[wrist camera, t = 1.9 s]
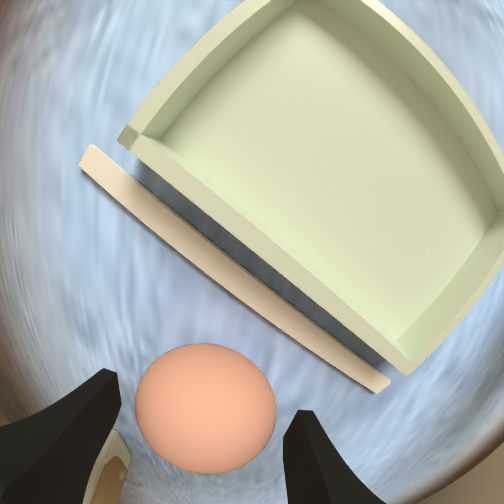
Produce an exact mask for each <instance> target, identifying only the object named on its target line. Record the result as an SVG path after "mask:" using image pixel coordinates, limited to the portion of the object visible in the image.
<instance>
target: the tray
mask: <svg viewBox="0 0 504 504" xmlns="http://www.w3.org/2000/svg"><path fill="white" fill-rule="evenodd" d="M116 141H118V142H119V143H120V144H121V145H123V146H124V147H125V148H126V149H128V150H129V151H130V152H131V153H133V154H134V155H135V156H136V157H137V158H139V159H140V160H141V161H142V162H144V163H145V164H146V165H147V166H149V167H150V168H151V169H152V170H154V171H155V172H156V173H157V174H158V175H160V176H161V177H162V178H163V179H165V180H166V181H167V182H168V183H170V184H171V185H172V186H173V187H175V188H176V189H177V190H178V191H179V192H181V193H182V194H183V195H184V196H186V197H187V198H188V199H189V200H191V201H192V202H193V203H194V204H195V205H197V206H198V207H199V208H200V209H202V210H203V211H204V212H205V213H207V214H208V215H209V216H210V217H212V218H213V219H214V220H215V221H216V222H218V223H219V224H220V225H221V226H223V227H224V228H225V229H226V230H228V231H229V232H230V233H231V234H232V235H234V236H235V237H236V238H237V239H239V240H240V241H241V242H242V243H244V244H245V245H246V246H247V247H248V248H250V249H251V250H252V251H253V252H255V253H256V254H257V255H258V256H260V257H261V258H262V259H263V260H264V261H266V262H267V263H268V264H269V265H271V266H272V267H273V268H274V269H276V270H277V271H278V272H279V273H280V274H282V275H283V276H284V277H285V278H287V279H288V280H289V281H290V282H292V283H293V284H294V285H295V286H296V287H298V288H299V289H300V290H301V291H303V292H304V293H305V294H306V295H308V296H309V297H310V298H311V299H312V300H314V301H315V302H316V303H317V304H319V305H320V306H321V307H322V308H323V309H325V310H326V311H327V312H328V313H330V314H331V315H332V316H333V317H335V318H336V319H337V320H338V321H339V322H341V323H342V324H343V325H344V326H346V327H347V328H348V329H349V330H350V331H352V332H353V333H354V334H355V335H357V336H358V337H359V338H360V339H362V340H363V341H364V342H365V343H366V344H368V345H369V346H370V347H371V348H373V349H374V350H375V351H376V352H377V353H379V354H380V355H381V356H382V357H384V358H385V359H386V360H387V361H388V362H390V363H391V364H392V365H393V366H395V367H396V368H397V369H398V370H400V371H401V372H402V373H403V374H404V375H406V376H408V375H409V374H410V373H411V372H412V371H413V370H414V369H416V368H417V367H418V366H419V365H420V364H421V363H422V362H423V361H424V360H425V359H426V358H427V357H428V356H429V355H430V354H431V353H432V352H433V351H434V350H435V349H436V348H437V347H438V346H439V345H440V344H441V343H442V342H443V341H444V340H445V339H446V338H447V337H448V335H449V334H450V333H451V332H452V331H453V330H454V329H455V328H456V327H457V325H458V324H459V323H460V322H461V321H462V320H463V318H464V317H465V316H466V315H467V314H468V312H469V311H470V310H471V309H472V307H473V306H474V305H475V304H476V302H477V301H478V300H479V298H480V297H481V296H482V294H483V293H484V292H485V290H486V289H487V287H488V286H489V285H490V283H491V282H492V280H493V279H494V277H495V276H496V275H497V273H498V272H499V270H500V268H501V267H502V265H503V264H504V155H503V153H502V151H501V149H500V147H499V145H498V143H497V141H496V139H495V137H494V136H493V134H492V132H491V130H490V129H489V127H488V125H487V124H486V122H485V120H484V119H483V117H482V115H481V114H480V112H479V111H478V109H477V108H476V106H475V105H474V103H473V102H472V100H471V99H470V97H469V96H468V95H467V93H466V92H465V90H464V89H463V88H462V86H461V85H460V84H459V82H458V81H457V80H456V78H455V77H454V76H453V75H452V73H451V72H450V71H449V70H448V69H447V67H446V66H445V65H444V64H443V63H442V61H441V60H440V59H439V58H438V57H437V56H436V55H435V54H434V52H433V51H432V50H431V49H430V48H429V47H428V46H427V45H426V44H425V43H424V42H423V41H422V40H421V39H420V38H419V37H418V36H417V35H416V34H415V33H414V32H413V31H412V30H411V29H410V28H409V27H408V26H407V25H406V24H405V23H403V22H402V21H401V20H400V19H399V18H398V17H397V16H396V15H394V14H393V13H392V12H391V11H390V10H388V9H387V8H386V7H385V6H384V5H382V4H381V3H380V2H378V1H377V0H245V1H244V2H243V3H241V4H240V5H239V6H237V7H236V8H235V9H234V10H232V11H231V12H230V13H229V14H228V15H226V16H225V17H224V18H223V19H222V20H221V21H219V22H218V23H217V24H216V25H215V26H214V27H213V28H212V29H210V30H209V31H208V32H207V33H206V34H205V35H204V36H203V37H202V38H201V39H200V40H199V41H198V42H197V43H196V44H195V45H194V46H193V47H192V48H191V49H190V50H189V51H188V52H187V53H186V54H185V55H184V56H183V57H182V58H181V59H180V60H179V61H178V62H177V63H176V64H175V65H174V66H173V68H172V69H171V70H170V71H169V72H168V73H167V74H166V75H165V77H164V78H163V79H162V80H161V81H160V82H159V84H158V85H157V86H156V87H155V88H154V90H153V91H152V92H151V93H150V95H149V96H148V97H147V98H146V100H145V101H144V102H143V103H142V105H141V106H140V107H139V109H138V110H137V111H136V113H135V114H134V115H133V117H132V118H131V120H130V121H129V122H128V124H127V125H126V127H125V128H124V130H123V131H122V132H121V134H120V135H119V137H118V138H117V140H116Z"/></svg>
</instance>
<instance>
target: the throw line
mask: <svg viewBox="0 0 504 504" xmlns="http://www.w3.org/2000/svg"><path fill="white" fill-rule="evenodd" d="M79 166H80V167H81V168H82V169H83V170H84V171H85V172H86V173H87V174H88V175H89V176H91V177H92V178H93V179H94V180H95V181H96V182H97V183H98V184H99V185H101V186H102V187H103V188H104V189H105V190H106V191H107V192H108V193H110V194H111V195H112V196H113V197H114V198H115V199H116V200H118V201H119V202H120V203H121V204H122V205H123V206H124V207H126V208H127V209H128V210H129V211H130V212H131V213H133V214H134V215H135V216H136V217H137V218H139V219H140V220H141V221H142V222H143V223H144V224H146V225H147V226H148V227H149V228H150V229H152V230H153V231H154V232H155V233H156V234H158V235H159V236H160V237H161V238H163V239H164V240H165V241H166V242H167V243H169V244H170V245H171V246H172V247H174V248H175V249H176V250H177V251H178V252H180V253H181V254H182V255H183V256H185V257H186V258H187V259H188V260H190V261H191V262H192V263H194V264H195V265H196V266H197V267H199V268H200V269H201V270H202V271H204V272H205V273H206V274H208V275H209V276H210V277H211V278H213V279H214V280H215V281H217V282H218V283H219V284H220V285H222V286H223V287H224V288H226V289H227V290H228V291H230V292H231V293H232V294H234V295H235V296H236V297H238V298H239V299H240V300H242V301H243V302H244V303H246V304H247V305H248V306H250V307H251V308H252V309H254V310H255V311H256V312H258V313H259V314H260V315H262V316H263V317H265V318H266V319H267V320H269V321H270V322H271V323H273V324H274V325H276V326H277V327H278V328H280V329H281V330H283V331H284V332H285V333H287V334H288V335H290V336H291V337H293V338H294V339H295V340H297V341H298V342H300V343H301V344H303V345H304V346H305V347H307V348H308V349H310V350H311V351H313V352H314V353H316V354H317V355H318V356H320V357H321V358H323V359H324V360H326V361H327V362H329V363H330V364H332V365H333V366H335V367H336V368H338V369H339V370H341V371H342V372H344V373H345V374H347V375H348V376H350V377H351V378H353V379H354V380H356V381H358V382H359V383H361V384H362V385H364V386H365V387H367V388H368V389H370V390H372V391H373V392H375V393H376V394H378V393H379V392H380V391H382V390H383V389H384V388H385V387H387V386H388V385H389V384H390V383H391V381H390V379H389V378H387V377H386V376H385V375H383V374H382V373H381V372H379V371H378V370H376V369H375V368H374V367H372V366H371V365H370V364H368V363H367V362H366V361H364V360H363V359H362V358H360V357H359V356H358V355H356V354H355V353H354V352H352V351H351V350H350V349H348V348H347V347H346V346H344V345H343V344H342V343H340V342H339V341H338V340H336V339H335V338H334V337H333V336H331V335H330V334H329V333H327V332H326V331H325V330H323V329H322V328H321V327H319V326H318V325H317V324H315V323H314V322H313V321H312V320H310V319H309V318H308V317H306V316H305V315H304V314H302V313H301V312H300V311H299V310H297V309H296V308H295V307H293V306H292V305H291V304H290V303H288V302H287V301H286V300H284V299H283V298H282V297H281V296H279V295H278V294H277V293H275V292H274V291H273V290H272V289H270V288H269V287H268V286H266V285H265V284H264V283H263V282H261V281H260V280H259V279H258V278H256V277H255V276H254V275H252V274H251V273H250V272H249V271H247V270H246V269H245V268H244V267H242V266H241V265H240V264H239V263H237V262H236V261H235V260H233V259H232V258H231V257H230V256H228V255H227V254H226V253H225V252H223V251H222V250H221V249H220V248H218V247H217V246H216V245H215V244H213V243H212V242H211V241H210V240H208V239H207V238H206V237H205V236H204V235H202V234H201V233H200V232H199V231H197V230H196V229H195V228H194V227H192V226H191V225H190V224H189V223H187V222H186V221H185V220H184V219H183V218H181V217H180V216H179V215H178V214H176V213H175V212H174V211H173V210H171V209H170V208H169V207H168V206H167V205H165V204H164V203H163V202H162V201H161V200H159V199H158V198H157V197H156V196H154V195H153V194H152V193H151V192H150V191H148V190H147V189H146V188H145V187H144V186H142V185H141V184H140V183H139V182H138V181H136V180H135V179H134V178H133V177H132V176H130V175H129V174H128V173H127V172H126V171H124V170H123V169H122V168H121V167H120V166H118V165H117V164H116V163H115V162H114V161H113V160H111V159H110V158H109V157H108V156H107V155H105V154H104V153H103V152H102V151H101V150H100V149H98V148H97V147H96V146H95V145H91V144H90V145H89V147H88V149H87V150H86V152H85V154H84V156H83V157H82V159H81V161H80V163H79Z"/></svg>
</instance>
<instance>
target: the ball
mask: <svg viewBox="0 0 504 504" xmlns="http://www.w3.org/2000/svg"><path fill="white" fill-rule="evenodd" d="M135 413H136V419H137V423H138V426H139V428H140V431H141V433H142V435H143V437H144V438H145V440H146V442H147V443H148V444H149V446H150V447H151V448H152V449H153V450H154V451H155V452H156V453H157V454H158V455H159V456H160V457H161V458H163V459H164V460H165V461H167V462H168V463H170V464H172V465H174V466H176V467H178V468H180V469H183V470H186V471H189V472H193V473H200V474H219V473H224V472H228V471H232V470H235V469H237V468H239V467H242V466H244V465H246V464H247V463H248V462H250V461H251V460H253V459H254V458H255V457H256V456H257V455H258V454H259V453H260V452H261V451H262V450H263V449H264V448H265V446H266V444H267V443H268V441H269V440H270V438H271V435H272V433H273V430H274V426H275V422H276V404H275V397H274V394H273V391H272V389H271V386H270V384H269V382H268V380H267V379H266V377H265V376H264V374H263V373H262V372H261V370H260V369H259V368H258V367H257V366H256V365H255V364H254V363H253V362H252V361H251V360H249V359H248V358H246V357H245V356H243V355H242V354H240V353H238V352H236V351H234V350H232V349H230V348H227V347H224V346H219V345H215V344H203V343H200V344H190V345H184V346H181V347H178V348H175V349H173V350H171V351H169V352H167V353H165V354H163V355H162V356H161V357H159V358H158V359H157V360H155V361H154V362H153V363H152V364H151V365H150V366H149V368H148V369H147V370H146V372H145V373H144V375H143V377H142V378H141V381H140V383H139V386H138V388H137V393H136V398H135Z"/></svg>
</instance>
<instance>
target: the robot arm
mask: <svg viewBox="0 0 504 504" xmlns="http://www.w3.org/2000/svg"><path fill="white" fill-rule="evenodd" d="M121 405H122V403H121V397H120V391H119V384H118V377H117V373H116V372H113V371H110V370H108V369H105V368H103V369H101V370H100V371H99V372H97V373H96V374H95V375H93V376H92V377H91V378H90V379H88V380H87V381H86V382H84V383H83V384H82V385H80V386H79V387H78V388H76V389H75V390H73V391H72V392H70V393H69V394H68V395H66V396H65V397H63V398H62V399H60V400H58V401H57V402H55V403H54V404H52V405H50V406H49V407H47V408H45V409H43V410H42V411H40V412H38V413H36V414H33V415H31V416H29V417H27V418H24V419H22V420H19V421H17V422H14V423H11V424H8V425H4V426H1V427H0V504H83V499H84V496H85V492H86V488H87V485H88V481H89V478H90V475H91V472H92V469H93V466H94V464H95V462H96V460H97V458H98V456H99V454H100V452H101V450H102V448H103V446H104V444H105V442H106V440H107V438H108V436H109V434H110V432H111V430H112V428H113V426H114V424H115V422H116V419H117V416H118V413H119V410H120V408H121ZM283 463H284V472H285V480H286V489H287V497H288V504H386V503H385V502H383V501H382V500H381V499H380V498H378V497H377V496H376V495H375V494H374V493H373V492H371V491H370V490H369V489H368V488H367V487H366V486H365V485H364V484H363V483H362V482H361V481H360V480H359V478H358V477H357V476H356V475H355V474H354V473H353V471H352V470H351V469H350V468H349V466H348V465H347V464H346V463H345V461H344V460H343V459H342V457H341V456H340V454H339V453H338V451H337V450H336V448H335V447H334V445H333V444H332V442H331V441H330V439H329V438H328V436H327V434H326V433H325V431H324V429H323V428H322V426H321V424H320V422H319V421H318V419H317V417H316V415H315V414H314V412H313V411H309V410H298V411H297V413H296V415H295V417H294V418H293V420H292V422H291V424H290V426H289V428H288V429H287V431H286V433H285V435H284V437H283Z"/></svg>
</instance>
